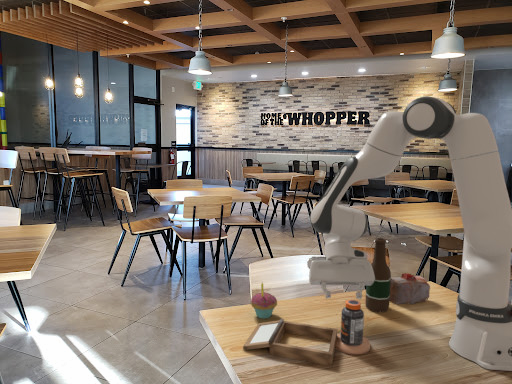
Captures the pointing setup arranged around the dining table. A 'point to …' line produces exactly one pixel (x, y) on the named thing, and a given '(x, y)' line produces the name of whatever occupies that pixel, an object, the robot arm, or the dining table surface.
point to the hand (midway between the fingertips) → (343, 297)
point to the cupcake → (263, 304)
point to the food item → (408, 289)
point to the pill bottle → (352, 323)
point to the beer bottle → (379, 280)
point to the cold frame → (302, 352)
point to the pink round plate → (352, 349)
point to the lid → (260, 335)
